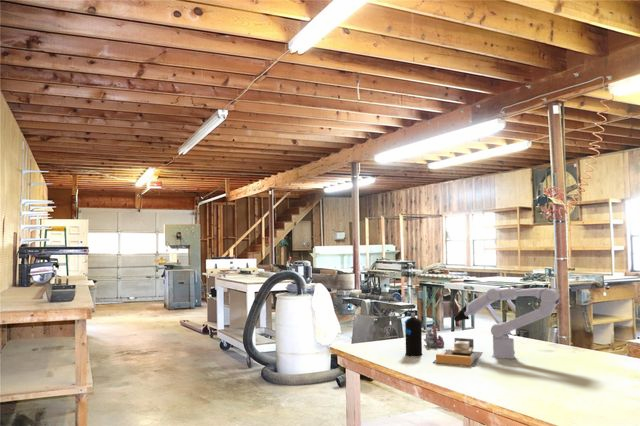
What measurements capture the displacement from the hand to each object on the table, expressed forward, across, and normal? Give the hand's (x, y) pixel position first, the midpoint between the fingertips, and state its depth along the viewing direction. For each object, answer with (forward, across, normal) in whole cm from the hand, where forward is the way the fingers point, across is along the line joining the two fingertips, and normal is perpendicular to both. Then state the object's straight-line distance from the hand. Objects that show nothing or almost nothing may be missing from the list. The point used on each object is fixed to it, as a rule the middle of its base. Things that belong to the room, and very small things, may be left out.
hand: (456, 317), depth 250 cm
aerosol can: (+21, +21, +2) cm, 30 cm away
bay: (+4, +17, +14) cm, 22 cm away
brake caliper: (+22, -3, +7) cm, 23 cm away
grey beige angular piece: (+6, +7, +15) cm, 17 cm away
